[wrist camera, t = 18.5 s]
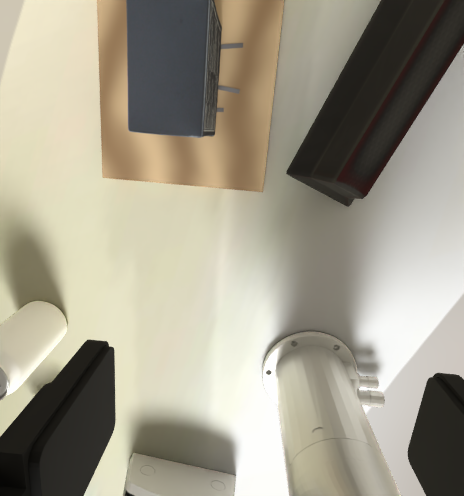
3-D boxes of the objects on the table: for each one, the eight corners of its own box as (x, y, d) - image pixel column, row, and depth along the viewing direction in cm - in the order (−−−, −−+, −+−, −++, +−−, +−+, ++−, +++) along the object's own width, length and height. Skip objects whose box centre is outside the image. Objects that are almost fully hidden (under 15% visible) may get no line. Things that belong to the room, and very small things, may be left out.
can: (43, 290, 45) (-25, 342, 34) (78, 325, 47) (25, 386, 35) (10, 317, 47) (-65, 376, 35) (46, 350, 48) (-15, 417, 37)
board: (287, -39, 34) (289, -47, 32) (262, 189, 40) (262, 192, 39) (101, -55, 34) (94, -63, 32) (107, 176, 41) (102, 177, 39)
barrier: (407, -52, 33) (473, -126, 24) (481, -4, 34) (573, -57, 25) (284, 172, 40) (296, 184, 31) (349, 207, 41) (380, 229, 32)
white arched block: (126, 476, 55) (107, 525, 45) (134, 446, 55) (116, 488, 45) (229, 498, 56) (233, 551, 46) (236, 468, 56) (241, 515, 46)
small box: (156, 18, 34) (120, -29, 24) (223, 24, 34) (214, -22, 24) (155, 132, 37) (123, 132, 27) (216, 137, 37) (206, 138, 27)
